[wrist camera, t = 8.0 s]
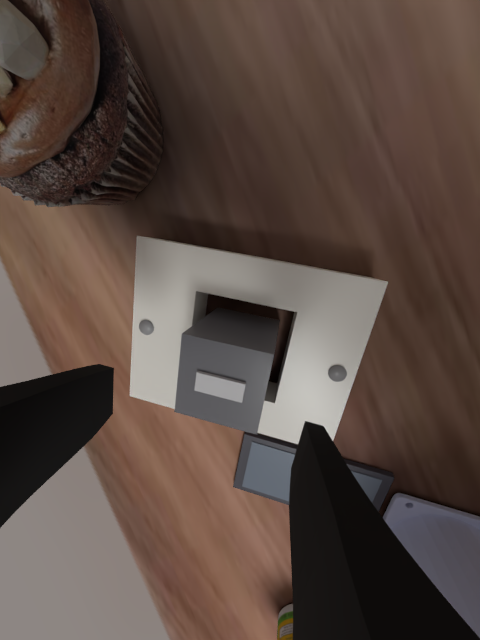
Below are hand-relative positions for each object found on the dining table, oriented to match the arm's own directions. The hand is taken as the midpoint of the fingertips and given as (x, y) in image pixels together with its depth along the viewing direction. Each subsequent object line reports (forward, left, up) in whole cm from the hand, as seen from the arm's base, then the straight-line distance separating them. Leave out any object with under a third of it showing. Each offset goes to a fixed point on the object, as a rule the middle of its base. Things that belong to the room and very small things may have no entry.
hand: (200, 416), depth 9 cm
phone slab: (-7, +10, -10) cm, 16 cm away
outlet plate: (0, 0, -9) cm, 9 cm away
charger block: (0, 0, -9) cm, 9 cm away
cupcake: (+11, -11, -9) cm, 18 cm away
